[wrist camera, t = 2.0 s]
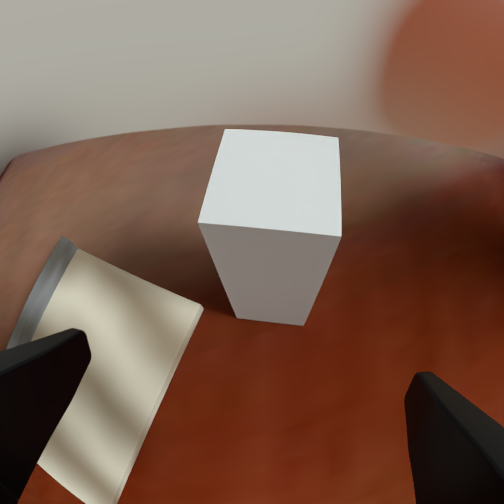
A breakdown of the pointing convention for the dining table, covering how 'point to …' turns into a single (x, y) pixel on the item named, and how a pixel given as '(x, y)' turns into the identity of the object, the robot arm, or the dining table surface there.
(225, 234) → the grey carton
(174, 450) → the dining table surface
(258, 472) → the dining table surface
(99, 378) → the shelf board
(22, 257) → the dining table surface
